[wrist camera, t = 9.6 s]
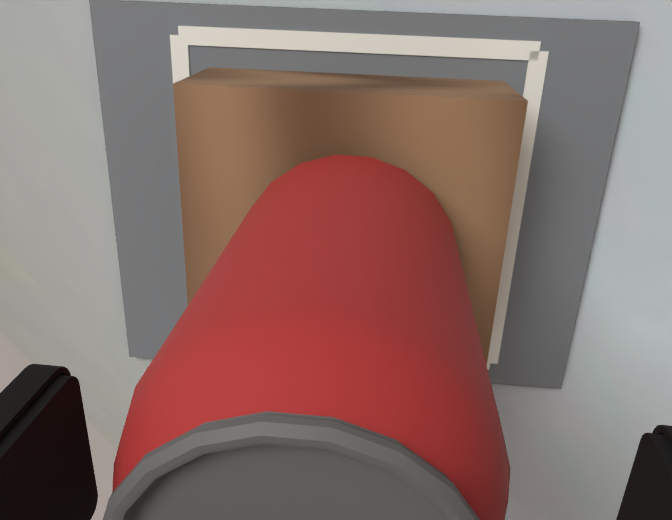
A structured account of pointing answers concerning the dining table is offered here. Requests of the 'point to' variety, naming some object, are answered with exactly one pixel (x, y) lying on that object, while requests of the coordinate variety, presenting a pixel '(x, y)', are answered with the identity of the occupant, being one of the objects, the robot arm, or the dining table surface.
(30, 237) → the dining table surface
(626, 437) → the dining table surface
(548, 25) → the grey mat
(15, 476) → the robot arm
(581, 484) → the dining table surface
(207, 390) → the beer can
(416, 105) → the walnut base block
